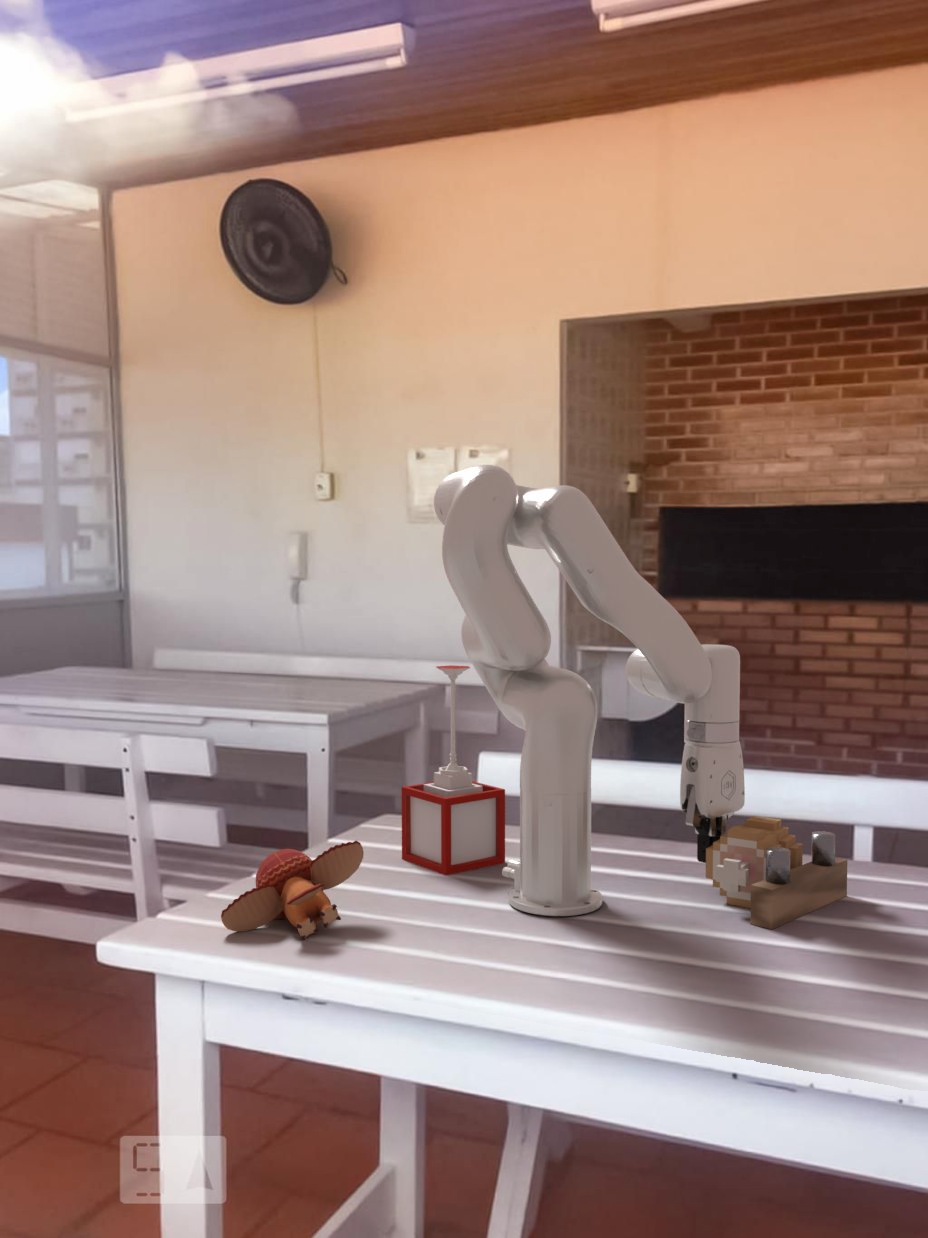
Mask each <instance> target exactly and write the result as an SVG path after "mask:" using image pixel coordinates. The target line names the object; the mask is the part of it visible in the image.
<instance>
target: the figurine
mask: <svg viewBox="0 0 928 1238" xmlns="http://www.w3.org/2000/svg"><path fill="white" fill-rule="evenodd" d="M363 859H364V848H363V846H362V843H361V842H360V841H358V840H354V841H353V842H351V841H348V842H347V843H344V842H341V844H336V845H334V846H333V847H332V846H330V847H329V848H328V849H327V850H324V851H322V853H321V854H319V855H317V856H316V858H315V859H311V858H310V856H308V855H307V854H306V853H303V852H302V851H300V850H296V849H293V848H283V849H279V850H277V851H274V852H272V853H271V854H269V855H268V856H266V858H264V859H263V860H262V861H261V863H260V865H259V867H258V868H257V872H256V874H255V887H253V888H251V890H247V891H246V890H245V892H244V893H242V894H240V895H239V896H238V897H237V898H234V900H233V901H232V903H229V904H228V905H227V907H226V908H225V909H223V910H222V911H221V915H220V919H221V923H222V924H223V926H224V927H225V928H226V929H227V930H229V931H233V932H247V931H252V930H254V929H257V928H260V927H263V926H265V925H267V924H268V923H270V922H272V920H275V919H277V920H283V919H287V920H288V922H289V923H290V924H291V926H293V927H294V928H296V929H297V932H298V934H299V936H300V940H301V941H304V940H305V938H307V937H308V936H310V935H312V934H314V933H315V934H316V933H319V932H320V931H319V929H318V928H317V927H316V925H318V924H319V923H320V922H322V924H323V927H324V929H326V928H328V926H329V925H330V924H332V923H333V922H336V921H341V920H342V918H341V916H340V915H339V912H338V909H337V905H336V904H332V902H331V900H330V898H329V897H328V895H327V894H326V893H325V892H324V891H326V890H329V889H333V888H335V887H337V886H339V885H341V884H343V883H344V882H345V881H346V880H348V879H349V878H351V877H352V875H354V874H355V873H356V871H357V870H358V869H359V868H360V866H361V864H362V862H363Z"/></svg>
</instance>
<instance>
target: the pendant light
mask: <svg viewBox="0 0 928 1238" xmlns="http://www.w3.org/2000/svg"><path fill="white" fill-rule="evenodd" d="M435 668H436V669H437V670H440V671H442V672H443V674H444V675H446V676H448V679H450V753H449V756H450V757H449V762H450V763H448V764H447V766H441V767H438V771H435V772H433V781H432V782H425V783H418V784H411V785H405V786H401V860H404V861H406V862H408V863H412V864H414V865H416V866H420V867H422V868H424V869H427V870H429V871H431V872H435V873H438V874H440V875H444V876H450V875H454V874H458V873H462V872H467V871H472V870H476V869H477V870H479V869H481V868H487V867H490V866H496V865H501V864H504V863H506V789H505V788H501V787H497V786H494V785H489V784H485V783H481V782H478V781H473V773H472V772H468V768H467V767H466V766H462V765H461V766H459V765H458V763H457V760H458V759H457V758H456V757H457V756H458V755H457V753H456V679H458V676H460V675H462V674H463V673H464V672H465V671H468V670H469V669H471V667H470V666H469V665H451V664H450V665H440V666H439V665H438V666H435Z"/></svg>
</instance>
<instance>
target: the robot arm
mask: <svg viewBox="0 0 928 1238" xmlns="http://www.w3.org/2000/svg"><path fill="white" fill-rule="evenodd" d="M433 508H434V512H435V515H436V516H437V518H438V520H439V522H441V524H442V525H443V526H444V527H443V532H442V533H443V535H442V542H441V543H442V545H441V555H442V563H443V568H444V571H445V575H446V578H447V580H448V583H449V584H450V586H451V588H452V590H453V592H454V594H455V596H456V598H457V600H458V602H459V604H460V606H461V607H462V609H463V611H464V614H465V616H464V618H463V621H462V624H461V631H460V634H461V642H462V646H463V649H464V651H465V654H466V655H467V657H468V659H469V661H470V663H471V664H472V666H473V668H474V670H475V671H476V673H477V674H478V676H479V678H480V680H481V681H482V683H483V685H484V686H485V688H486V690H487V691H488V693H489V695H490V696H491V698H492V699H493V701H494V703H495V704H496V707H498V709H499V710H500V712H501V713H502V715H503V717H505V719H507V720H508V721H509V722H510V723H511V724H513V725H514V726H515V727H517V728H519V729H521V730H523V731H525V734H524V740H523V746H522V750H521V757H520V762H519V763H520V765H519V860H517V859H516V860H515V859H510V860H509V861H508V862H507V865H506V866H504V867H503V868H502V870H501V874H502V877H504V878H509V879H513V880H514V883H513V885H514V887H513V888H511V889H510V891H508V903H509V904H510V906H511V907H512V908H514V909H516V910H519V911H521V912H525V913H527V914H533V915H538V916H546V917H547V916H548V917H571V916H580V915H585V914H589V913H593V912H594V911H596V910H598V909H599V908H601V907H602V905H603V894H602V892H600V891H599V890H598V889H597V888H594V887H592V883H591V882H592V759H593V757H592V756H593V746H594V739H595V733H596V729H597V723H598V702H597V697H596V694H595V692H594V690H593V688H592V687H591V685H590V683H588V681H587V680H586V679H585V678H583V677H582V676H581V675H579V674H578V673H576V672H574V671H571V670H569V669H565V668H561V667H558V666H552V665H549V663H548V662H547V660H546V658H547V657H548V655H549V652H550V649H551V647H552V646H551V644H552V636H551V635H552V634H551V631H550V627H549V625H548V622H547V620H546V619H545V617H544V616H543V614H542V613H541V611H540V609H539V608H538V605H537V604H536V603H535V601H534V599H533V597H532V595H531V594H530V592H529V590H528V589H527V587H526V586H525V584H524V583H523V580H522V579H521V577H520V575H519V573H518V571H517V568H516V567H515V565H514V563H513V561H512V559H511V556H510V553H509V549H508V545H509V546H512V547H513V546H514V547H519V548H525V549H532V550H545V551H546V552H547V554H548V556H549V557H550V559H551V560H552V562H553V563H554V565H555V567H557V569H558V571H559V572H560V573H561V575H562V577H563V578H564V580H565V581H566V583H567V584H568V586H569V587H570V588H571V590H572V592H573V593H574V594H575V596H576V598H577V600H578V601H579V603H580V604H581V605H582V606H583V607H584V609H586V610H587V611H588V612H590V613H591V614H592V615H594V616H595V617H596V618H597V619H599V620H601V621H603V622H604V623H606V624H607V625H610V626H612V627H613V628H615V629H616V630H617V631H619V632H620V633H621V634H623V635H624V637H626V638H627V639H628V640H629V641H630V642H631V643H632V644H633V645H634V646H635V647H636V649H635V650H633V652H632V653H631V654H630V656H629V657H628V658H627V661H626V664H625V675H626V678H627V679H626V680H627V681H628V683H629V684H630V686H632V688H633V689H634V690H636V691H637V692H638V693H640V694H641V695H642V694H643V695H645V696H648V697H650V698H654V699H660V700H666V701H670V702H673V703H677V704H678V703H679V704H684V721H683V722H684V724H683V728H684V729H683V731H684V732H683V736H684V737H683V739H684V740H683V742H684V745H683V752H682V760H681V768H680V782H679V783H680V784H679V805H680V809H681V812H682V813H683V814H685V815H686V816H685V825H687V826H691V827H694V832H695V834H696V835H697V838H696V839H697V842H696V844H697V845H696V846H697V847H696V851H697V852H696V859H697V861H698V862H699V863H704V864H706V849H707V848H709V847H710V846H712V845H713V842H715V841H717V840H719V839H720V836H722V835H724V834H726V829H727V822H728V819H730V818H731V817H732V816H733V815H735V813H737V812H739V811H740V810H742V809H743V807H744V806H745V799H746V798H745V795H746V793H745V770H744V769H745V767H744V759H743V757H744V756H743V751H742V745H741V742H740V707H741V706H740V700H741V698H740V694H741V691H740V690H741V689H740V687H741V683H740V682H741V655H740V652H739V650H738V649H737V648H736V647H735V646H733V645H727V644H707V643H706V644H701V642H700V641H699V639H698V638H697V636H696V635H695V633H694V631H693V630H692V628H691V627H690V626H689V624H688V623H687V621H686V620H685V619H684V618H683V616H682V615H681V614H680V613H679V612H678V610H676V608H675V607H674V606H673V605H672V604H671V603H670V602H668V600H667V599H665V598H664V597H663V596H662V595H661V594H660V593H659V592H658V591H657V590H656V588H654V587H653V586H652V584H650V583H649V581H647V580H646V579H645V578H644V577H643V576H641V575H640V574H639V573H638V571H637V570H636V568H635V567H634V566H633V564H632V563H631V561H630V560H629V558H628V557H627V556H626V554H625V552H624V551H623V549H622V548H621V546H620V545H619V543H618V542H617V540H616V538H615V537H614V536H613V534H612V532H611V530H610V529H609V527H608V526H607V525H606V523H605V522H604V519H603V518H602V517H601V515H600V514H599V512H598V510H597V509H596V508H595V506H594V504H593V503H592V502H591V500H590V499H589V498H588V496H587V495H586V494H585V493H584V492H583V491H582V490H581V489H579V488H577V487H574V486H572V485H568V484H567V485H565V484H564V485H563V484H561V485H554V486H553V485H552V486H547V487H542V488H538V487H537V488H535V487H529V486H523V485H517V484H516V482H515V480H514V478H513V477H512V475H511V474H510V473H509V472H508V471H506V470H505V469H504V468H502V467H501V466H497V465H493V464H479V465H476V466H475V465H474V466H472V467H468V468H466V469H462V470H459V471H456V472H453V473H450V474H449V475H447V476H446V477H444V478H443V480H441V481H440V483H439V484H438V486H437V488H436V490H435V492H434V496H433Z"/></svg>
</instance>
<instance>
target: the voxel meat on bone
mask: <svg viewBox="0 0 928 1238" xmlns="http://www.w3.org/2000/svg"><path fill="white" fill-rule="evenodd" d="M721 835H722V836H720V839H719V840H717V841H715V842H713V845H712V846H710V847H709V848H707V849H706V863H705V879H709V880H712V887H713V888H719V896H721V897H722V896H723V897H726V904H727V905H731V906H737V907H743V908H750V909H751V885H752V884H755V883H757V882H760V881H762V880H765V879H766V848H769V847H782V848H787V849H789V850H790V870H791V869H793V868H796V867H799V866H801V865H803V858H804V857H803V853H804V851H803V849H804V847H803V845H804V844H803V843H798V842H796V839H797V838H796V835H792V834H789V827H785V826H782V819H780V818H779V819H778V818H773V817H771V818H770V817H766V816H765V817H764V816H756V815H753V816H750V817H749V818H747V819H745V822H744V823H742V824H740V825H734V826H732V827H730V828H729V829H727V832H725V833H724V834H721Z"/></svg>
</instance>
